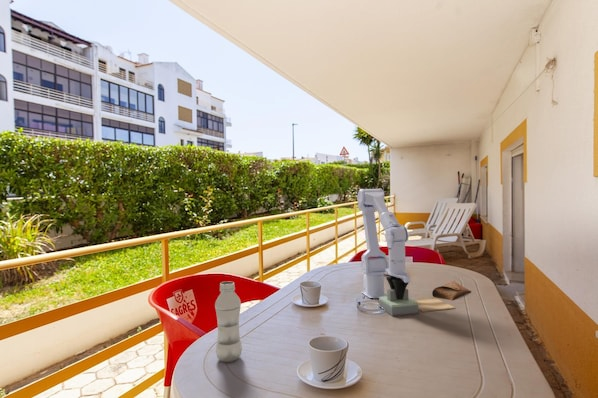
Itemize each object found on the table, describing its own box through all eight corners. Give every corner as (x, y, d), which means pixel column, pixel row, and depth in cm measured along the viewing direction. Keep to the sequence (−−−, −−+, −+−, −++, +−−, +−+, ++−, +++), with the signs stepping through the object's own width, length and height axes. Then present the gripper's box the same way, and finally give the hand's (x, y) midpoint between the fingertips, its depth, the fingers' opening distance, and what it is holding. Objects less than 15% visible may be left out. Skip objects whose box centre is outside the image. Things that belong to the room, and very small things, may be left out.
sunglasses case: (453, 300, 135) (444, 284, 138) (438, 306, 140) (429, 290, 142) (472, 291, 147) (463, 276, 150) (458, 296, 152) (449, 282, 154)
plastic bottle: (218, 354, 95) (215, 280, 95) (243, 353, 95) (241, 279, 95) (214, 366, 88) (211, 287, 88) (241, 364, 89) (239, 285, 89)
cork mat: (403, 301, 136) (403, 300, 136) (433, 298, 139) (433, 297, 139) (422, 312, 124) (422, 311, 124) (455, 308, 126) (455, 307, 126)
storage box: (379, 307, 130) (378, 299, 130) (403, 304, 132) (403, 296, 132) (392, 316, 120) (391, 307, 120) (418, 313, 123) (418, 304, 123)
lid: (379, 301, 130) (378, 287, 130) (403, 298, 132) (403, 285, 132) (391, 309, 120) (391, 294, 120) (418, 306, 123) (417, 292, 123)
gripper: (418, 263, 120) (419, 302, 120) (397, 256, 134) (398, 291, 134) (399, 264, 118) (400, 304, 119) (380, 257, 133) (381, 293, 133)
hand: (397, 297), depth 126 cm, fingers closed on lid, 2 cm apart
